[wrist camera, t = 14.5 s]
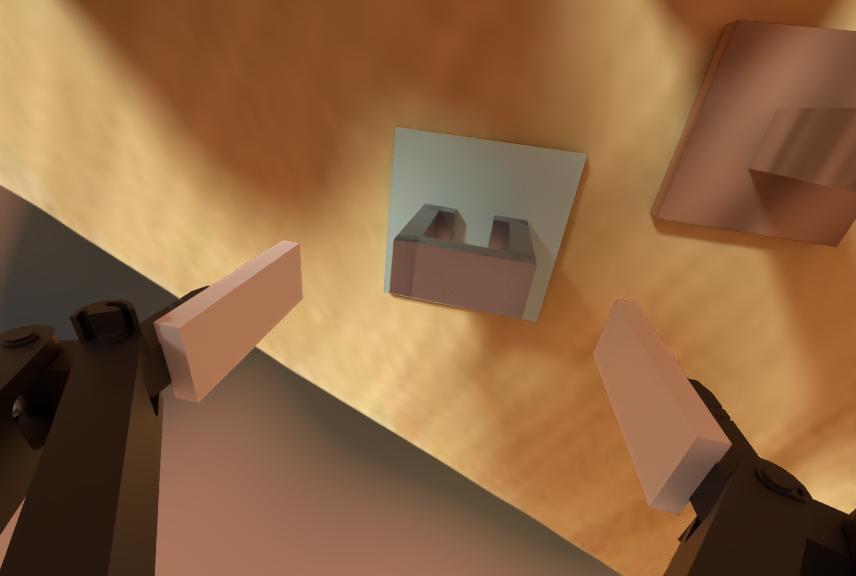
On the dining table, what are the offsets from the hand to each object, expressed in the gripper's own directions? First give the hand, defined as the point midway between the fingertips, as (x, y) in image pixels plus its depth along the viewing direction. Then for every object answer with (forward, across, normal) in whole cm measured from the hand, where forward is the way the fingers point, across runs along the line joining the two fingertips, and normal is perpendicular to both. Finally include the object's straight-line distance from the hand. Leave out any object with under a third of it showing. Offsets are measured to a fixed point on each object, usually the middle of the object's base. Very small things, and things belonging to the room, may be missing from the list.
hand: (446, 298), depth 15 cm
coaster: (+12, 0, -1) cm, 12 cm away
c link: (+11, 0, -1) cm, 11 cm away
